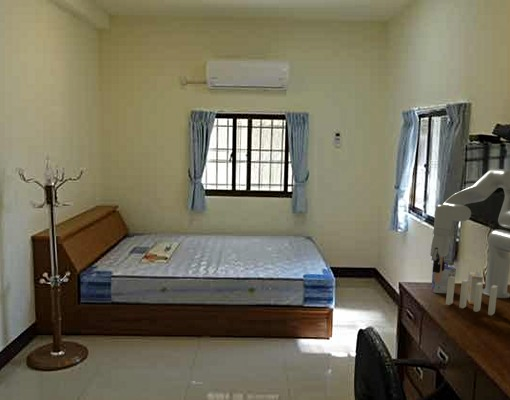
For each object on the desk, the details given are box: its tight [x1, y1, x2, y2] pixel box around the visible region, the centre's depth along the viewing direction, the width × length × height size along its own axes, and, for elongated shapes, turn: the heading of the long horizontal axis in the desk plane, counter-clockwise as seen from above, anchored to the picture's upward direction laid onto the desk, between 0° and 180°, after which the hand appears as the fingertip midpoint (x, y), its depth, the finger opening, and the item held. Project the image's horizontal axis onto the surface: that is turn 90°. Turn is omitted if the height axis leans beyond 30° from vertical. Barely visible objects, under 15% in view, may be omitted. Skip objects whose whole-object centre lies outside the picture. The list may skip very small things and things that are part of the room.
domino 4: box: [472, 282, 484, 313], centre depth 225 cm, size 4×2×12 cm, turn 140°
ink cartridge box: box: [430, 261, 457, 294], centre depth 250 cm, size 10×6×14 cm, turn 89°
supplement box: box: [467, 271, 484, 305], centre depth 237 cm, size 8×5×13 cm, turn 168°
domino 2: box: [445, 276, 456, 306], centre depth 233 cm, size 4×2×12 cm, turn 140°
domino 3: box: [458, 278, 469, 309], centre depth 229 cm, size 4×2×12 cm, turn 140°
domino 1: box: [434, 256, 443, 283], centre depth 235 cm, size 4×2×12 cm, turn 140°
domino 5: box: [487, 285, 498, 316], centre depth 221 cm, size 4×2×12 cm, turn 140°
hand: (438, 271), depth 235 cm, fingers closed on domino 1, 4 cm apart
